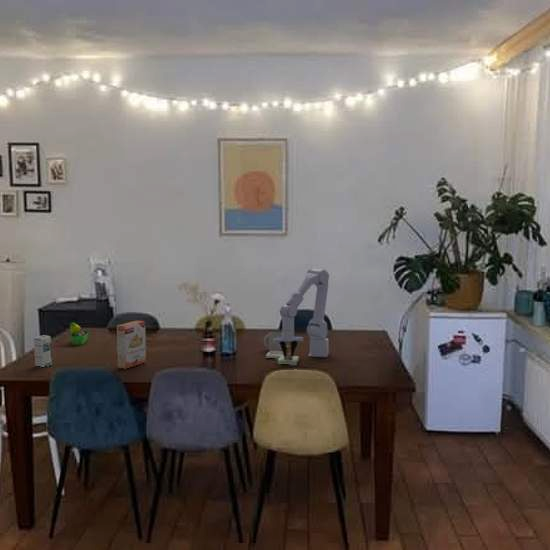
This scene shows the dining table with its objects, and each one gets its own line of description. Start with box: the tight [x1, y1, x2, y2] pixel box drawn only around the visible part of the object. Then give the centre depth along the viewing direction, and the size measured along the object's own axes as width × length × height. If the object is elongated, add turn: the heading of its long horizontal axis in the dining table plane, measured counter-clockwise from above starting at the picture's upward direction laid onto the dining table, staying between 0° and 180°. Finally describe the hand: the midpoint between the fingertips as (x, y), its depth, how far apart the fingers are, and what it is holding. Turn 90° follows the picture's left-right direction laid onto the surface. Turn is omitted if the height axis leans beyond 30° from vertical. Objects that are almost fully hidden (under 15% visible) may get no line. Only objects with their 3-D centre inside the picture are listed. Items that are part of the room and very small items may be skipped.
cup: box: [263, 331, 282, 351], centre depth 359 cm, size 7×10×9 cm
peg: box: [285, 345, 291, 360], centre depth 335 cm, size 3×3×8 cm
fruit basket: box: [69, 322, 90, 346], centre depth 376 cm, size 11×9×11 cm
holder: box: [277, 355, 300, 366], centre depth 335 cm, size 9×9×2 cm
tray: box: [265, 351, 284, 360], centre depth 345 cm, size 10×9×2 cm
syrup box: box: [33, 334, 53, 368], centre depth 330 cm, size 6×6×14 cm
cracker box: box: [116, 320, 147, 370], centre depth 329 cm, size 14×6×21 cm, turn 148°
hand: (288, 356), depth 335 cm, fingers closed on peg, 3 cm apart
